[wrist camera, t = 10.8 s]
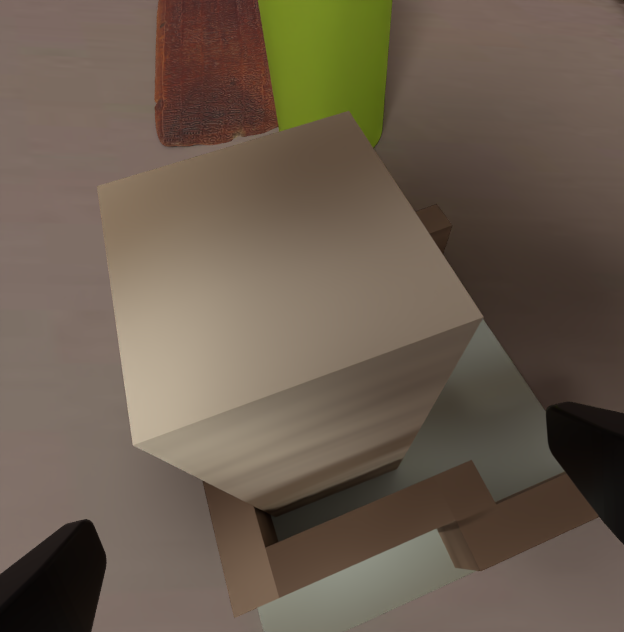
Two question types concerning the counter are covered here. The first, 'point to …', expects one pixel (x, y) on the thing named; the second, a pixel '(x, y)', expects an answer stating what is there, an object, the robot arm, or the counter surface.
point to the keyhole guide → (409, 506)
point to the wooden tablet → (211, 72)
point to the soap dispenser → (328, 60)
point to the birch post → (280, 314)
